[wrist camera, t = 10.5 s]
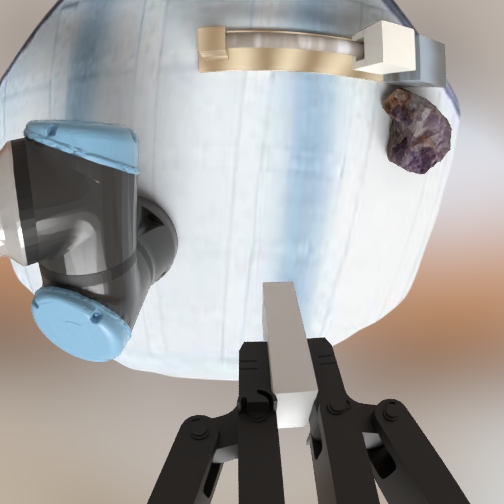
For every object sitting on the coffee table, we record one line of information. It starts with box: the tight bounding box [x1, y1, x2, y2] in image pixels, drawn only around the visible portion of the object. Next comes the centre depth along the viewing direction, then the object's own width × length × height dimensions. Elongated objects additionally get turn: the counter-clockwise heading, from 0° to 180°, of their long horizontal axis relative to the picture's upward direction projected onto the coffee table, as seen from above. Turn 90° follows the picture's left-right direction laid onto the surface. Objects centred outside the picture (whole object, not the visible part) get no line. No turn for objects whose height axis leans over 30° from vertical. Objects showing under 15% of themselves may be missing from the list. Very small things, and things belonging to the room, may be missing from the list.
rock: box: [382, 88, 452, 174], centre depth 34 cm, size 12×9×10 cm
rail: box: [198, 26, 446, 88], centre depth 28 cm, size 30×6×11 cm, turn 91°
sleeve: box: [352, 20, 416, 75], centre depth 25 cm, size 4×5×9 cm
